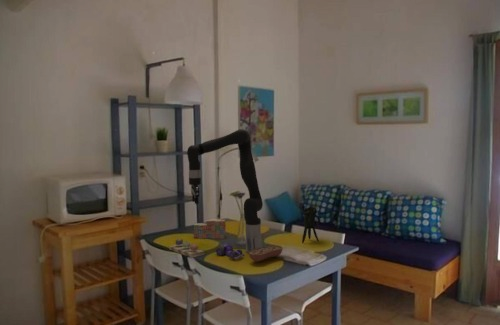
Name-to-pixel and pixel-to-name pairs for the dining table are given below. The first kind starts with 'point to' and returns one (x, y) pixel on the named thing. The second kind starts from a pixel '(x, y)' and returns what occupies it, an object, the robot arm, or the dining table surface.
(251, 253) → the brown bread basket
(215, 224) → the stack of blocks
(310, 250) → the dining table surface
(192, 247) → the button
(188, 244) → the button
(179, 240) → the button
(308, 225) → the black legged piece
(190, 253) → the button board
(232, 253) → the toy race car
